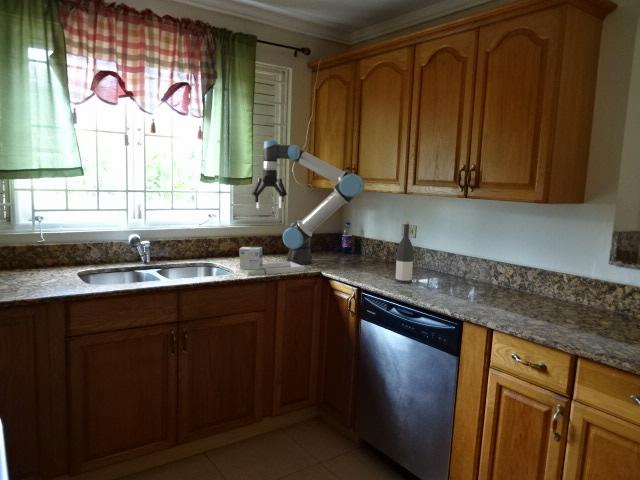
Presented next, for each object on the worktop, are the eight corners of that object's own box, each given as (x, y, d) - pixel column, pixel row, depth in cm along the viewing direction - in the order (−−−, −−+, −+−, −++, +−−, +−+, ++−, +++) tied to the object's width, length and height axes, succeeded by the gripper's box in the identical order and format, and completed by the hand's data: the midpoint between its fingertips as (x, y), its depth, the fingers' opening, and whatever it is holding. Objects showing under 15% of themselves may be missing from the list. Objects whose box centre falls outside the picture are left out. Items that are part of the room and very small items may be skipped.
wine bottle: (393, 282, 239) (396, 221, 235) (397, 279, 247) (400, 220, 243) (410, 284, 236) (413, 222, 233) (413, 281, 244) (416, 221, 240)
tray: (290, 265, 274) (290, 261, 274) (304, 271, 261) (304, 266, 261) (253, 268, 263) (254, 264, 263) (266, 274, 249) (266, 269, 249)
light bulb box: (263, 267, 255) (262, 246, 253) (260, 269, 248) (259, 248, 246) (243, 266, 256) (242, 246, 254) (239, 269, 249) (238, 248, 247)
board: (254, 269, 260) (254, 266, 259) (264, 274, 249) (264, 270, 249) (238, 271, 255) (238, 267, 255) (248, 275, 245) (248, 271, 244)
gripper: (287, 170, 278) (286, 207, 281) (246, 168, 265) (245, 207, 268) (293, 170, 272) (292, 208, 275) (251, 168, 259) (251, 208, 262)
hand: (269, 208), depth 271 cm, fingers open, 13 cm apart
